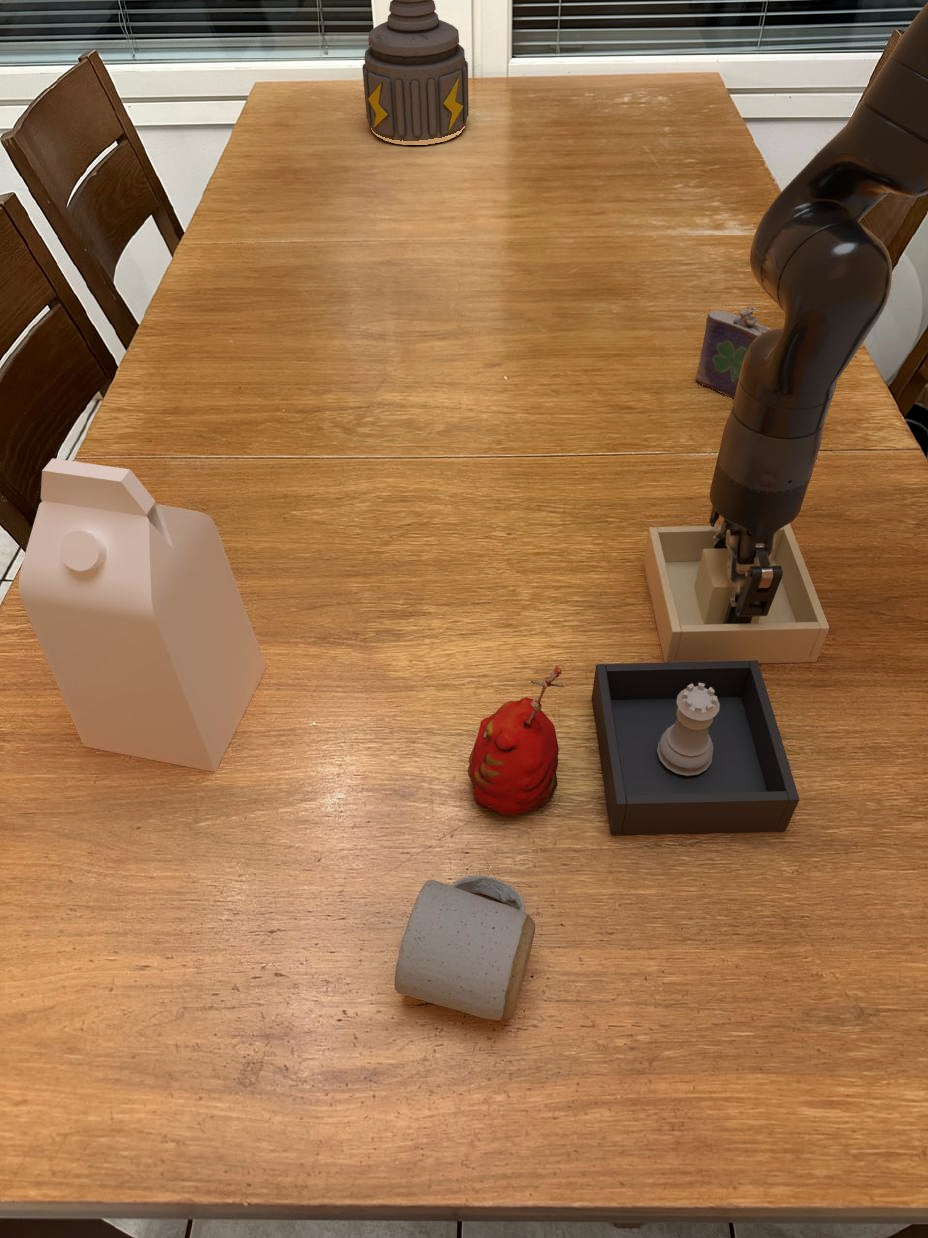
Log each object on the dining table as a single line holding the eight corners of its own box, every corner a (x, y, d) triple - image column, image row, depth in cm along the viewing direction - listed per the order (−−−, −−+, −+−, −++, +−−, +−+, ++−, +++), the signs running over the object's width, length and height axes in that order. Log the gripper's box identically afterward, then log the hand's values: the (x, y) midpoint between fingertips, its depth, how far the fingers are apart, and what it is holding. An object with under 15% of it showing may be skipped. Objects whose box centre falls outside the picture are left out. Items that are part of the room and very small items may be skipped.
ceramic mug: (511, 1044, 63) (515, 997, 57) (395, 1010, 64) (387, 961, 59) (546, 901, 70) (552, 847, 64) (440, 874, 72) (437, 819, 66)
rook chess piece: (666, 726, 80) (680, 665, 74) (718, 745, 78) (737, 684, 72) (649, 766, 77) (662, 706, 71) (702, 787, 76) (720, 727, 70)
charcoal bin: (746, 694, 83) (757, 659, 79) (785, 831, 73) (800, 799, 70) (591, 697, 83) (595, 663, 79) (610, 835, 73) (616, 804, 70)
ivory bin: (779, 558, 94) (790, 523, 91) (816, 662, 85) (829, 628, 82) (642, 561, 94) (648, 526, 91) (665, 666, 85) (672, 631, 82)
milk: (266, 667, 86) (203, 430, 66) (215, 772, 78) (128, 538, 59) (144, 646, 88) (49, 410, 68) (83, 746, 80) (-42, 512, 61)
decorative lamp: (491, 126, 173) (492, -74, 151) (417, 157, 163) (407, -51, 141) (418, 101, 182) (409, -91, 160) (345, 130, 172) (324, -70, 150)
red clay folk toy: (491, 736, 80) (492, 615, 69) (570, 762, 78) (584, 642, 67) (456, 809, 75) (451, 691, 64) (539, 838, 73) (549, 722, 62)
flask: (691, 381, 116) (706, 300, 108) (705, 371, 117) (721, 290, 109) (756, 411, 111) (777, 328, 103) (770, 401, 113) (792, 318, 105)
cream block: (746, 585, 91) (757, 547, 87) (757, 623, 87) (769, 585, 84) (694, 586, 91) (702, 548, 87) (703, 625, 87) (713, 587, 84)
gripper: (837, 516, 72) (785, 658, 84) (789, 406, 81) (749, 548, 94) (738, 518, 72) (701, 660, 84) (702, 408, 81) (674, 550, 94)
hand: (727, 601), depth 89 cm, fingers open, 6 cm apart
